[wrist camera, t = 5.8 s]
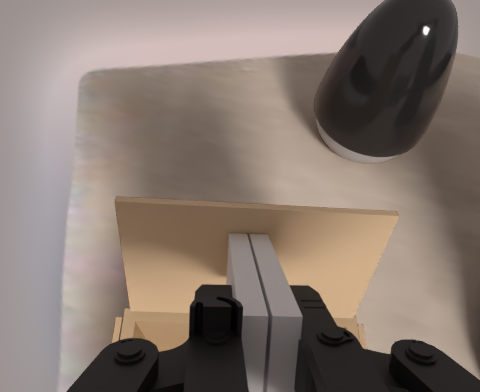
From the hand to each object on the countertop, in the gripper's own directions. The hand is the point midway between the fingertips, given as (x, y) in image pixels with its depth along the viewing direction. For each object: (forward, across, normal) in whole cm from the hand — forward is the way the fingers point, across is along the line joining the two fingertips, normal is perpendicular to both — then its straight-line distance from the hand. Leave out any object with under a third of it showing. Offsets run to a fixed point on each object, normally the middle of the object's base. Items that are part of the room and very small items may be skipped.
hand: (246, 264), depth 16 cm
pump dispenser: (+24, +12, +4) cm, 27 cm away
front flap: (+1, 0, -1) cm, 1 cm away
